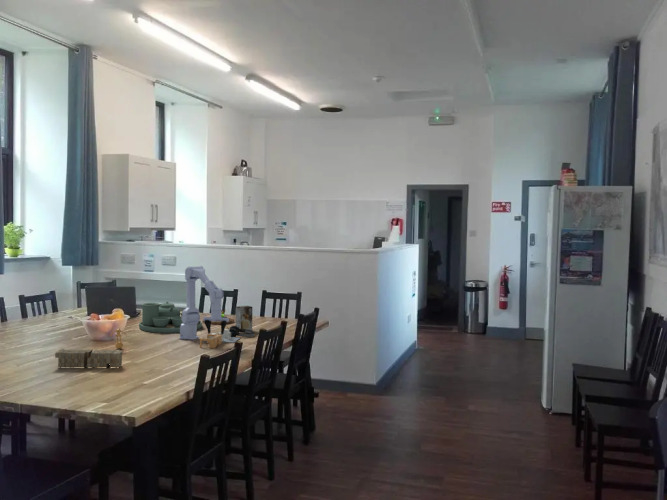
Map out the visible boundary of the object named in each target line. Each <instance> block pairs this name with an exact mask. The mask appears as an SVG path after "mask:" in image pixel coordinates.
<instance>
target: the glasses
mask: <svg viewBox="0 0 667 500" xmlns="http://www.w3.org/2000/svg"><path fill="white" fill-rule="evenodd" d="M209 336H214V337H212V338H211V339H209ZM204 341H207V342H206V343H207V344H209V347H208V348H209V349H215V348H216V347H217V346H220V345H221V344H222V343H221V335H218V334H217V335H213V334H212V333H210V334H208V333H207V337H206V338H203V337H202V338H201V337H199V348H203V342H204ZM209 341H210V342H209Z"/></svg>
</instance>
